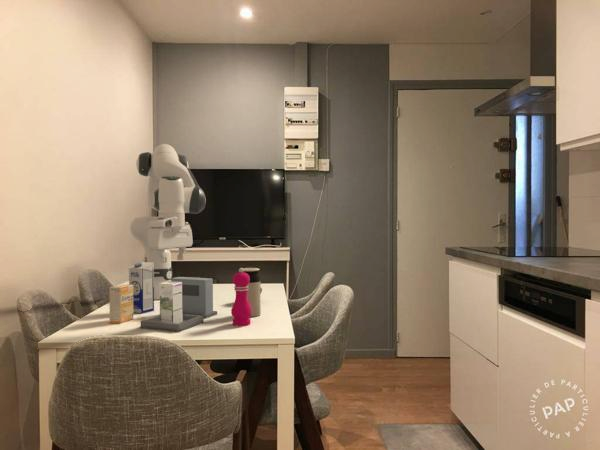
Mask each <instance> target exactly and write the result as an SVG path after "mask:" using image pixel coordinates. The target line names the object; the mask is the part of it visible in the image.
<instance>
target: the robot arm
mask: <svg viewBox="0 0 600 450" xmlns="http://www.w3.org/2000/svg"><path fill="white" fill-rule="evenodd" d="M135 166H136V169H137V172H138V174H139V175H140V176H143V177H148V184H147V204H148V206H149V207H150V208H152V209H153V210H155V211H157V212H158V216H142V217H141V216H140V217H136V218H134V219H132V220H131V222H130V226H129V231H130V234H131V236H132V237H133V238H134V239H136V240H137V241H138V242H140V244H141V245H142V247H143V248H144V250H145V255H146V262H152V263H154V301H155V300H157V301H158V300H159V301H160V287H159V284H160V283H163V282H167V281H171V278H173V268H172V253H171V251H170V249H178V251H179V252H178V254H177V256H176V257H177V258H176V260H177V261H184V255H185V253H186V251H187V250H186V249H187V248H188V247H189V248H190V247H192V246H193V244H194V242H193V231H192V227H191V224H190V223H189V222H188V221H186V220H185V219H186V217H185V214H193V215H198V214H199V213H201V212H202V211H203V210H205V208H206V204H207V203H206V201H207V200H206V194H205V192H204V190H203V189H202V188H201V187H200V185H199V184H198V182H197V180H196V177H195V176H194V174H193V172H192V171H191V169H190V168H189V166H190V165H189V162H188V159H187V157H186V156H185V155H184V154H183V155H182V154H179V153H178V152H177V151H176V150H175V148H174V147H173V146H171V145H170V144H168V143H161V144H159V145H156V147H155V148H154V150H153V152H148V151H147V152H141V153H140V154H139V155H138V157H137V160H136V165H135Z"/></svg>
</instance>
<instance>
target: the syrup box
mask: <svg viewBox="0 0 600 450" xmlns="http://www.w3.org/2000/svg"><path fill="white" fill-rule="evenodd" d="M159 287H160V299H159V315H160V322H169V323H181V322H183V317H182V282H171V281H167V282H163V283H160V284H159Z"/></svg>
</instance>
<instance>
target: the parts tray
mask: <svg viewBox="0 0 600 450" xmlns="http://www.w3.org/2000/svg"><path fill="white" fill-rule="evenodd" d="M182 317H183V322H181V323H169V322H160V314H158V315H155V316H152V317H148V318H145V319H142V320H140V329H148V330H155V331H156V330H157V331H167V332H175V333H180V332H182V331H185V330H189V329H190V328H192V327H193V328H194V327H196V326H198V325H202V324H203V323H204V318H203V316H200V315H188V314H182Z"/></svg>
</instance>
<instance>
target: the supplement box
mask: <svg viewBox="0 0 600 450" xmlns="http://www.w3.org/2000/svg"><path fill="white" fill-rule="evenodd" d="M108 291H109V324H123V323H125V322H127V321H130V320H134V313H133V285H129V283H128V284H126V283H125V284H119V285H115V286H110V287H109V290H108Z"/></svg>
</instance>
